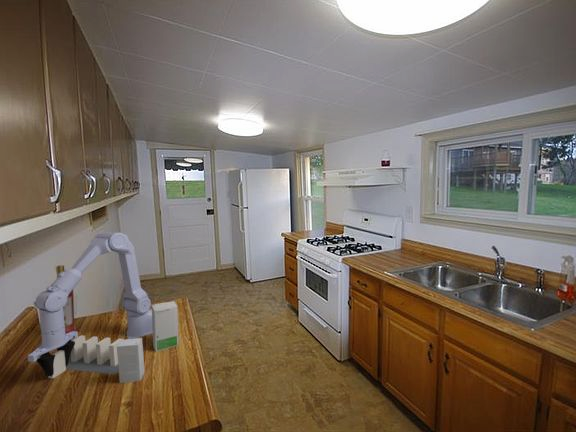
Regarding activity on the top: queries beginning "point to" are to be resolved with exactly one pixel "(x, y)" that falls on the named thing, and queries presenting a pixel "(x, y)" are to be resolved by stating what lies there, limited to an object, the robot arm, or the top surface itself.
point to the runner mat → (92, 366)
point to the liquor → (67, 307)
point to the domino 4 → (103, 351)
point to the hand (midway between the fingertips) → (57, 370)
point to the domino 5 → (114, 352)
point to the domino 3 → (90, 349)
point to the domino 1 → (58, 364)
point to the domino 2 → (77, 349)
